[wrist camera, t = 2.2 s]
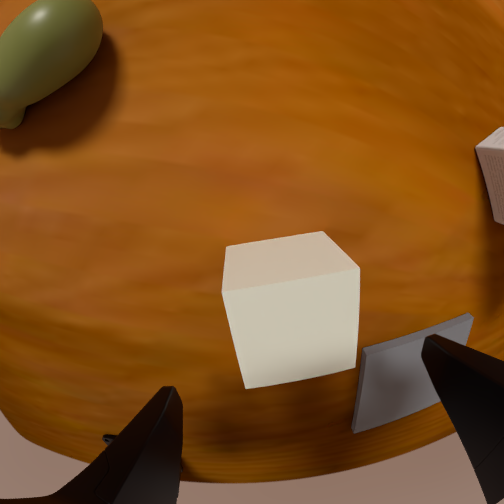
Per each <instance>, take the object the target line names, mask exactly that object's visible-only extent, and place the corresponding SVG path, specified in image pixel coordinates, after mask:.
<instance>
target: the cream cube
mask: <svg viewBox="0 0 504 504" xmlns="http://www.w3.org/2000/svg"><path fill="white" fill-rule="evenodd" d="M222 295H223V300H224V304H225V308H226V313H227V317H228V321H229V325H230V329H231V334H232V338H233V342H234V346H235V350H236V354H237V358H238V362H239V366H240V370H241V373H242V377H243V381H244V385H245V389H249V388H257V387H264V386H270V385H276V384H282V383H288V382H293V381H299V380H304V379H309V378H313V377H318V376H323V375H327V374H331V373H336V372H340V371H344V370H348V369H352V368H355V364H356V352H357V339H358V323H359V299H360V268H359V266H358V265H357V264H356V263H355V262H354V261H353V260H352V259H351V258H350V257H349V256H348V255H347V254H346V253H345V252H344V251H343V250H342V249H341V248H340V247H338V246H337V245H336V244H335V243H334V242H333V241H332V240H331V239H330V238H329V237H328V236H327V235H326V234H325V233H324V232H323V231H320V232H313V233H307V234H301V235H294V236H288V237H282V238H276V239H269V240H263V241H257V242H251V243H245V244H239V245H233V246H227V247H226V254H225V264H224V274H223V284H222Z"/></svg>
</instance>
